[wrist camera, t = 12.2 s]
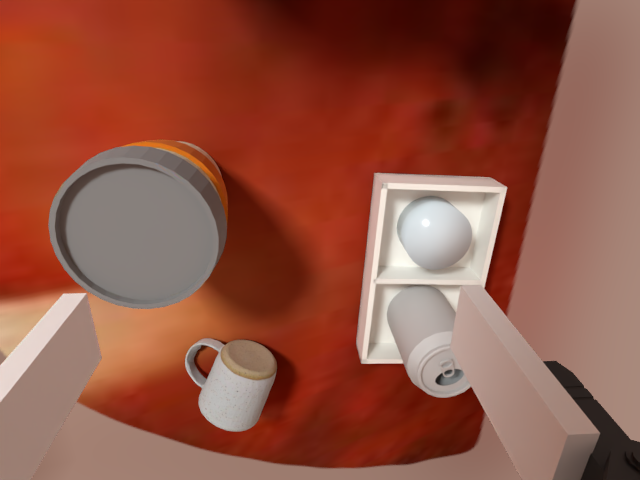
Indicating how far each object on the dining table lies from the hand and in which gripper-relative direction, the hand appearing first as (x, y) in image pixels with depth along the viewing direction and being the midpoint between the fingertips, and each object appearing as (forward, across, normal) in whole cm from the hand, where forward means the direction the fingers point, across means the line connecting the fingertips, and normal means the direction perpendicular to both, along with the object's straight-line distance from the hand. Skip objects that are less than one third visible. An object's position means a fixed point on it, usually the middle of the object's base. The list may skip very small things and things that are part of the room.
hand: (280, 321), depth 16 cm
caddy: (+32, +16, -15) cm, 38 cm away
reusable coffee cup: (+32, -11, -5) cm, 34 cm away
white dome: (+31, +16, -9) cm, 36 cm away
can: (+31, +16, -20) cm, 40 cm away
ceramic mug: (+32, -7, -28) cm, 43 cm away
